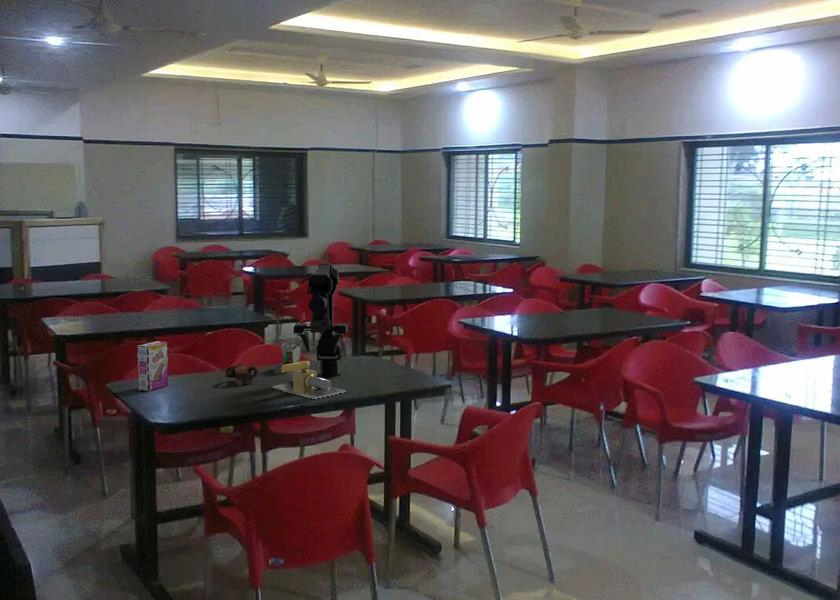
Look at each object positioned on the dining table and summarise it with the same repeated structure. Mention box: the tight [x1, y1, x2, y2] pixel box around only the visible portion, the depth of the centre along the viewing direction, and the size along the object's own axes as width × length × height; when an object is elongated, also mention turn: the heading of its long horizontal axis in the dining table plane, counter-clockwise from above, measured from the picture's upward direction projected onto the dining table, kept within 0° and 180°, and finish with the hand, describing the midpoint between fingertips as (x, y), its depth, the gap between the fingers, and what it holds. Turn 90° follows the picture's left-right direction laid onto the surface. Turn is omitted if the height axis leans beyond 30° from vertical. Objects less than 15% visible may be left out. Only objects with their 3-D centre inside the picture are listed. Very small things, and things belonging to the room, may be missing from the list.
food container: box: [280, 341, 302, 371], centre depth 339 cm, size 12×6×10 cm, turn 172°
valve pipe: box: [272, 368, 346, 400], centre depth 302 cm, size 24×14×8 cm, turn 46°
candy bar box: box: [136, 341, 169, 392], centre depth 307 cm, size 11×5×16 cm, turn 159°
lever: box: [273, 360, 311, 374], centre depth 299 cm, size 15×4×3 cm, turn 136°
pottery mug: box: [224, 363, 259, 386], centre depth 316 cm, size 12×10×8 cm
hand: (321, 352), depth 302 cm, fingers open, 9 cm apart
